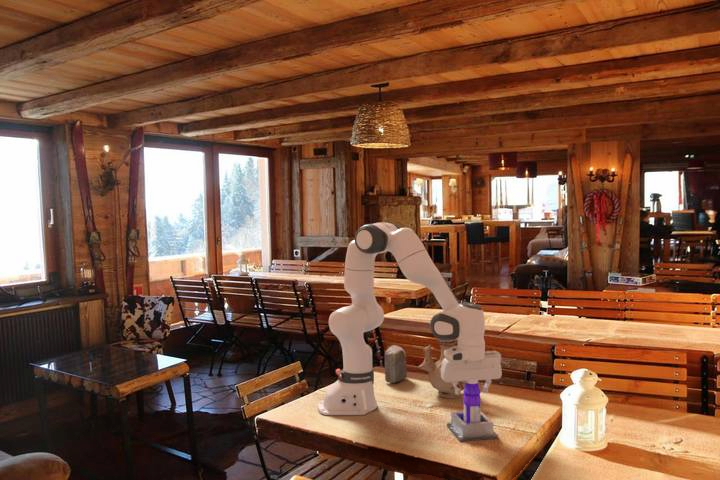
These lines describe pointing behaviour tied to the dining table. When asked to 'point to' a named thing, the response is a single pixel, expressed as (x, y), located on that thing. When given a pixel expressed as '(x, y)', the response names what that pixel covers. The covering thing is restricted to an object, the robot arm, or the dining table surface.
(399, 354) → the geological specimen
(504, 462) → the dining table surface
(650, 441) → the dining table surface
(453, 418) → the bottle holder
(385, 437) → the dining table surface
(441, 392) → the ceramic vessel
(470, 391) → the bottle
